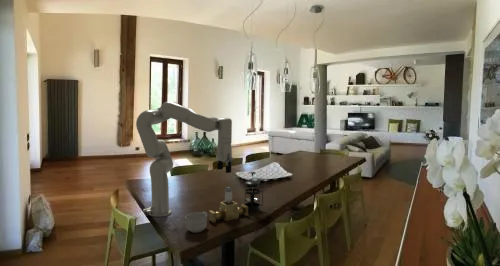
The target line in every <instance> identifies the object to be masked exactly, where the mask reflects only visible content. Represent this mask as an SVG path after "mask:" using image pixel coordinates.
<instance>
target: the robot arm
mask: <svg viewBox="0 0 500 266" xmlns="http://www.w3.org/2000/svg"><path fill="white" fill-rule="evenodd" d="M170 119H173V120H175V121H178V122H180V123H181V122H182V123H184V124H186V125H187V126H191V127H192V128H195V129H197V130H201V131H203V132H207V133H210V132H214V131H217V146H216V160H217V161H216V163H217V170H218V171H219V170H220V171H221V170H223V169H224V162H225V164H226V165H225V173H226V174H229V173H232V166H233V162H234V158H233V154H232V153H233V149H232V143H233V142H232V141H233V140H232V138H233V135H232V132H233V131H232V130H233V120H232V119H231V118H229V117H222V118H221V117H220V118H219V117H213V116H212V117H207V116H204V115H201V114H199V113H196V112H195V111H193V110H192V108H189V107H186V106H183V105H180V104H179V103H178V102H176V101H164V102H163V103H162V104H161V106H160V107H158V108H155V109H146V110H144V111H142V112H141V113H140V114H139V115H138V116H137V117H136V123H135V127H136V130H137V133H138V135H139V137H140V141H141V143H142V146H143V149H144V152H145V154H146V156H147V157H148V158H150V159H155V160H154V161H152V163H151V164H150V166H149V175H150V185H151V186H150V188H151V205H150V206H149V207H148V208H143V210H142V211H143V213H147V214H148V215H149V216H151V217H153V218H155V217H156V218H160V217H166V216H169V215H171V214H172V212H173V211H172V209H171V208H170V205H169V203H170V202H169V201H170V200H169V199H170V198H169V195H170V194H169V191H170V190H169V178H168V173H169V172H171V171H172V170H173V168H174V161H173V158H172V155H171V153H170V150H169V148H168V145H167V143H166V142H165V141H164V140H161V139H158V137H157V134H156V131H155V130H154V129H153V127H152V126H153V125H159V124H161V123H164V122H165V121H168V120H170Z"/></svg>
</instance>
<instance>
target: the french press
mask: <svg viewBox="0 0 500 266" xmlns="http://www.w3.org/2000/svg"><path fill="white" fill-rule="evenodd" d="M248 174H251V180H247V181H244V183H245V185H246V187H247V188H246V189H245V190H244V194H245V195H250V196H249V197H247V198H246V197H245V198H244V201H245V203H244V205H246V206H248V213H257V212H259V211H261V207H262V206H264V191H263V190H260V189H259V186H260V184H261V182H260V181H259V180H253V179H254V174H256V171H250V172H248ZM261 193H262V195H260V194H261ZM255 195H258V196H259V198H258V197H255ZM260 198H262V201H261V199H260ZM258 202H259V203H258ZM260 202H262V204H261V203H260Z"/></svg>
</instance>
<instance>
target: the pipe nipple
mask: <svg viewBox="0 0 500 266" xmlns="http://www.w3.org/2000/svg"><path fill="white" fill-rule="evenodd" d="M224 201H225V204H226V205H230V204H232V201H233V187H231V186H225V187H224Z"/></svg>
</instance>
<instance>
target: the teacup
mask: <svg viewBox="0 0 500 266" xmlns="http://www.w3.org/2000/svg"><path fill="white" fill-rule="evenodd" d="M208 217H209V213H208V212H207V211H200V212H199V211H196V212H190V213H187V214H186V215H185V216H184V219H185V227H186V229H187V231H189V232H191V233H196V234H197V233H200V232H203V231H204V230H205V229H206V228H207V224H208Z"/></svg>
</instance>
